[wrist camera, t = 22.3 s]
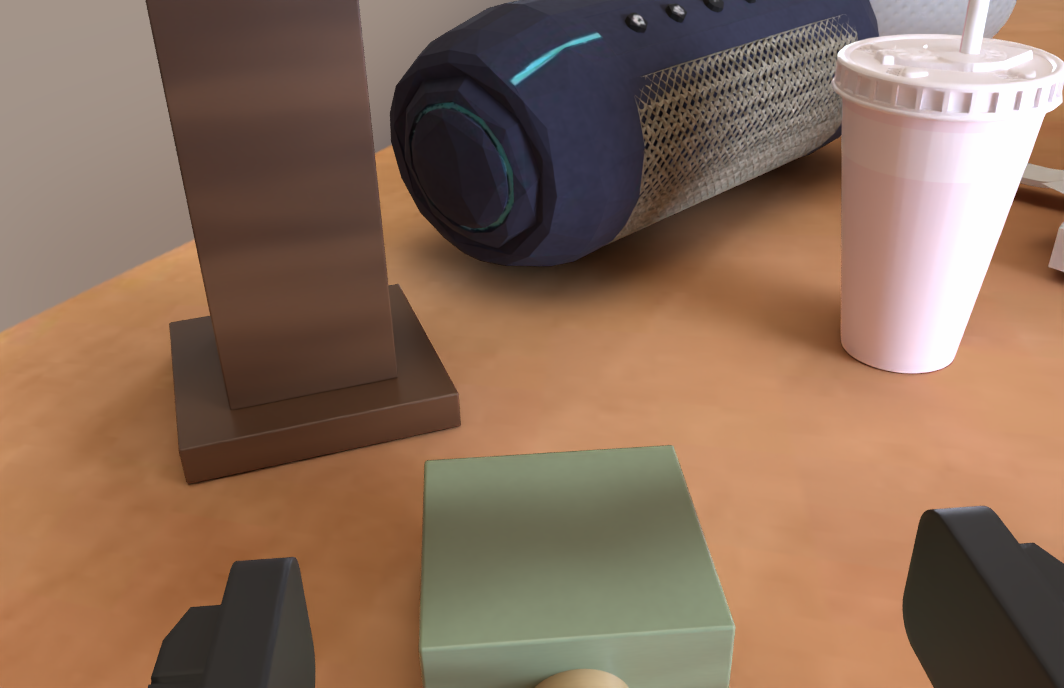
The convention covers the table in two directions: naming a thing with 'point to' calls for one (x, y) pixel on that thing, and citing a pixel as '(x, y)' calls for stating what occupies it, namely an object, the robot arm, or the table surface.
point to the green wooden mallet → (568, 574)
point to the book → (1055, 179)
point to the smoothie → (930, 181)
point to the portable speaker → (611, 114)
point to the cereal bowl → (935, 16)
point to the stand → (286, 242)
